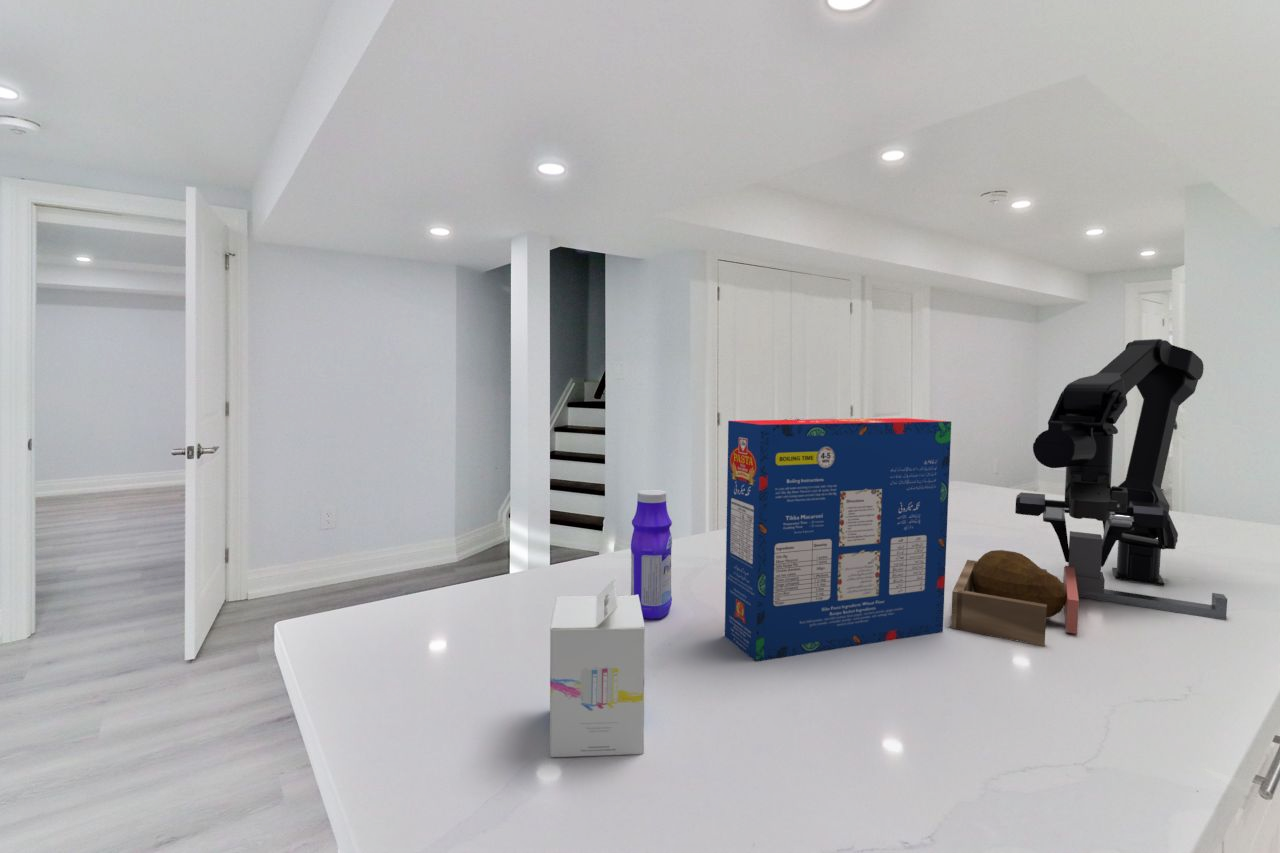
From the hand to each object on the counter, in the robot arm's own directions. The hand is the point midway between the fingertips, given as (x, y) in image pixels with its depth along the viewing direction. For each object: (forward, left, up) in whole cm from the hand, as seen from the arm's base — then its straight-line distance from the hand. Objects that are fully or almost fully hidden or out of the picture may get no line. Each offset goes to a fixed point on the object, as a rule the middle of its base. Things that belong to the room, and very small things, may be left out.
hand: (1083, 563), depth 97 cm
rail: (0, +5, -5) cm, 7 cm away
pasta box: (+37, -28, -5) cm, 47 cm away
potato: (+15, -9, -5) cm, 18 cm away
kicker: (+9, 0, -5) cm, 10 cm away
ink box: (+73, -40, -5) cm, 83 cm away
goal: (+17, -10, -5) cm, 20 cm away
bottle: (+44, -52, -5) cm, 68 cm away
